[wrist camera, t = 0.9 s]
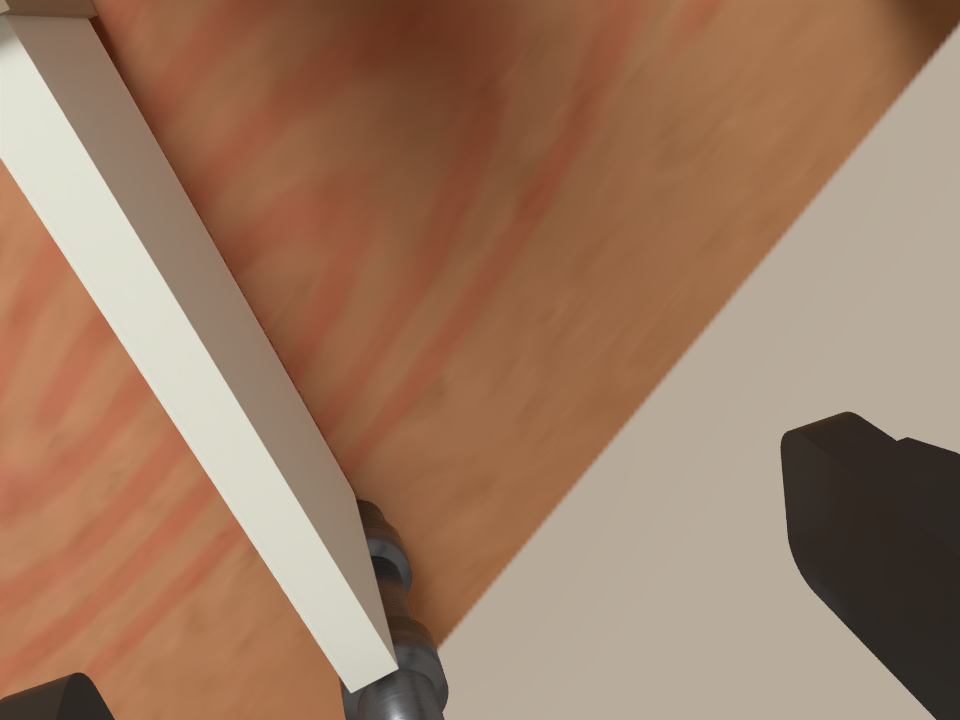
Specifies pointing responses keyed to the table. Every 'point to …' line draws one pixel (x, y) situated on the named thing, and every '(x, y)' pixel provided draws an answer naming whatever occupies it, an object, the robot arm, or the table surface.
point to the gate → (185, 321)
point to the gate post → (397, 638)
